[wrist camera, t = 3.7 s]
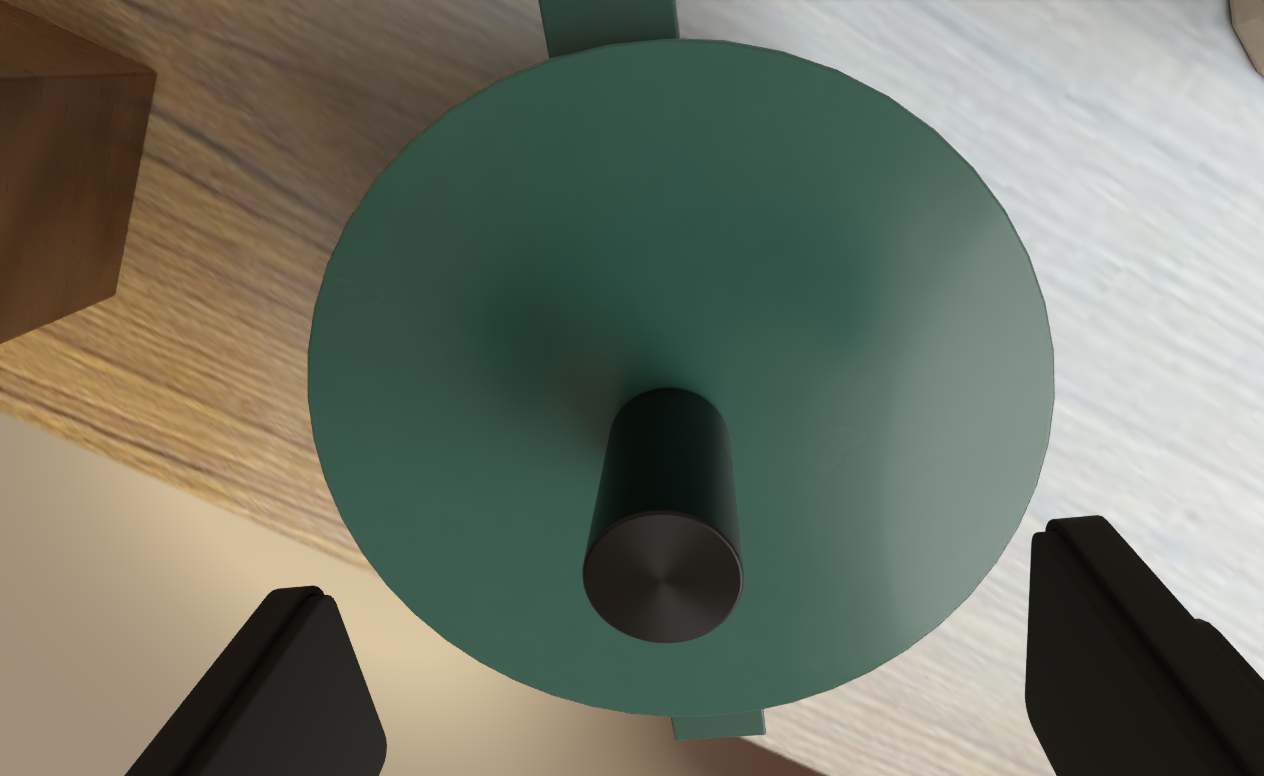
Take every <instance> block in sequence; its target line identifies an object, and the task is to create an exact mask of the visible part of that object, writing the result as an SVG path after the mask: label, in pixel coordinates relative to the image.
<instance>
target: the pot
mask: <svg viewBox="0 0 1264 776" xmlns="http://www.w3.org/2000/svg"><path fill="white" fill-rule="evenodd" d="M538 1H539V6H540V12H541V17H542V22H543V28H544V33H545V39H546V44H547V49H548V55H549V59H550V58H553V57H557V56H561V55H565V54H569V53H573V52H577V51H581V50H585V49H589V48H593V47H597V46H601V45H605V44H612V43H622V42H631V41H641V40H651V39H660V38H677V39H680V33H679V25H678V17H677V9H676V1H675V0H538ZM671 720H672V725H673V730H674V736H675V739H676V740H690V739H704V738H705V739H706V738H720V737H736V736H752V735H764V734H765V733H766V728H765V719H764V711H763V709H761V710H756V711H751V712H742V713H734V714H725V715H717V716H689V717H671Z"/></svg>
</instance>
